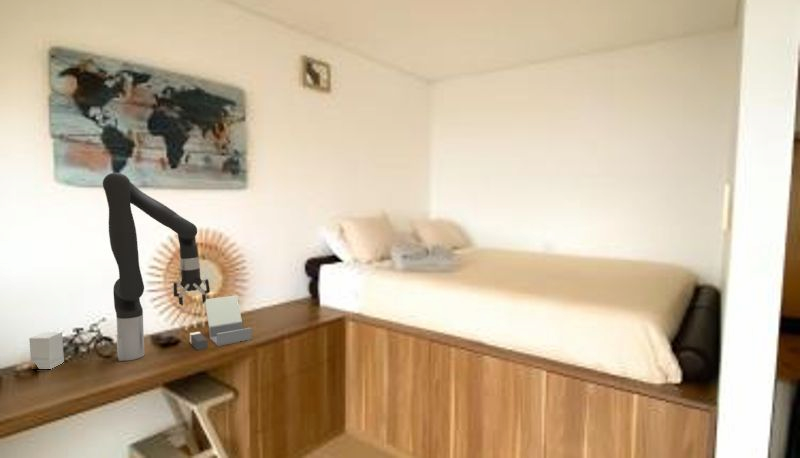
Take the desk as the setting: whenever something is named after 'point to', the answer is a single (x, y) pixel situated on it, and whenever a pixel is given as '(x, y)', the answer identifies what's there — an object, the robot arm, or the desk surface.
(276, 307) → the desk surface
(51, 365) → the supplement box
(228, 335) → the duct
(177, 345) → the desk surface
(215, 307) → the panel
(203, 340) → the gray white block
